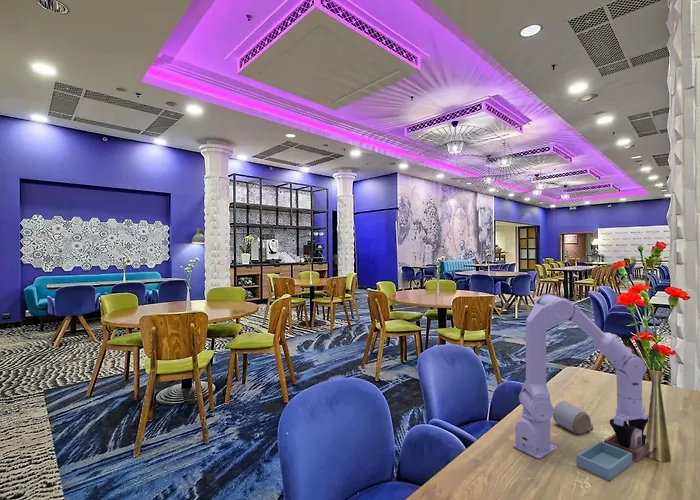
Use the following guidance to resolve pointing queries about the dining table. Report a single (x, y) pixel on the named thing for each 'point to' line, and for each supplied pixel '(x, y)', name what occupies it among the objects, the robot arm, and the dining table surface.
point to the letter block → (636, 439)
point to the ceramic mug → (572, 418)
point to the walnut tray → (636, 455)
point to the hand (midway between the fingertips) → (630, 443)
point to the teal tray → (603, 460)
